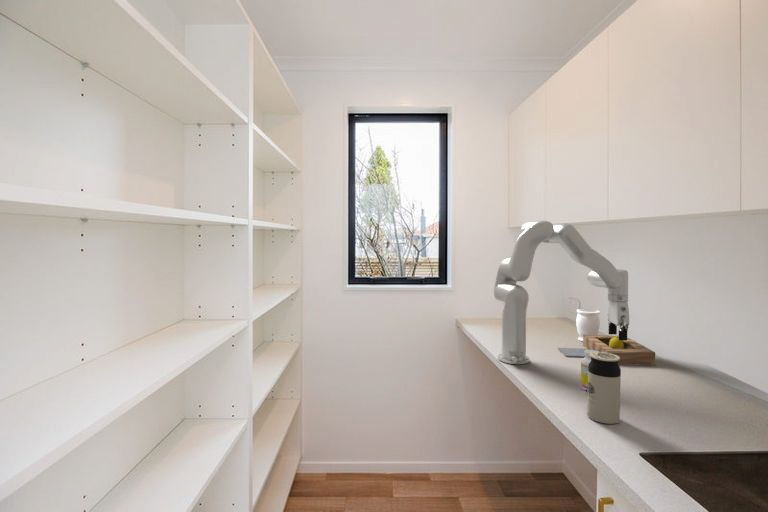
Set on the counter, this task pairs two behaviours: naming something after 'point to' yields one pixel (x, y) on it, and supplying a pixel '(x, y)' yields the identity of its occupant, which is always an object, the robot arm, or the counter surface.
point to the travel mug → (604, 388)
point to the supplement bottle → (585, 368)
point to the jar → (587, 322)
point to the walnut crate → (628, 355)
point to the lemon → (616, 343)
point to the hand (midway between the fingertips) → (617, 337)
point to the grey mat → (572, 352)
